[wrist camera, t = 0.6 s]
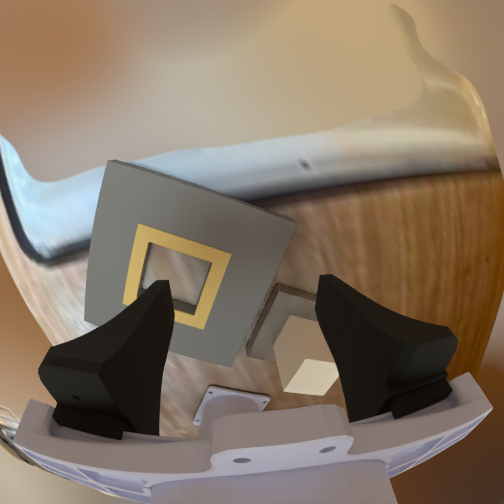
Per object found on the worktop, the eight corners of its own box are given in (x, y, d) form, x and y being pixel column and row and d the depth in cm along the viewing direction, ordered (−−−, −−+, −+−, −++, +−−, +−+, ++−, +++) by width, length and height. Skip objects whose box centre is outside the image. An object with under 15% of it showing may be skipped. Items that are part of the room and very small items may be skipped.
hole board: (230, 357, 28) (230, 368, 26) (89, 312, 24) (83, 321, 23) (292, 219, 23) (297, 224, 21) (114, 159, 19) (107, 160, 18)
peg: (307, 353, 26) (323, 395, 21) (272, 346, 26) (283, 391, 20) (325, 323, 25) (347, 364, 20) (289, 314, 24) (305, 358, 19)
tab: (311, 360, 29) (314, 368, 28) (245, 346, 27) (246, 356, 26) (345, 303, 26) (351, 311, 25) (276, 283, 25) (279, 291, 23)
